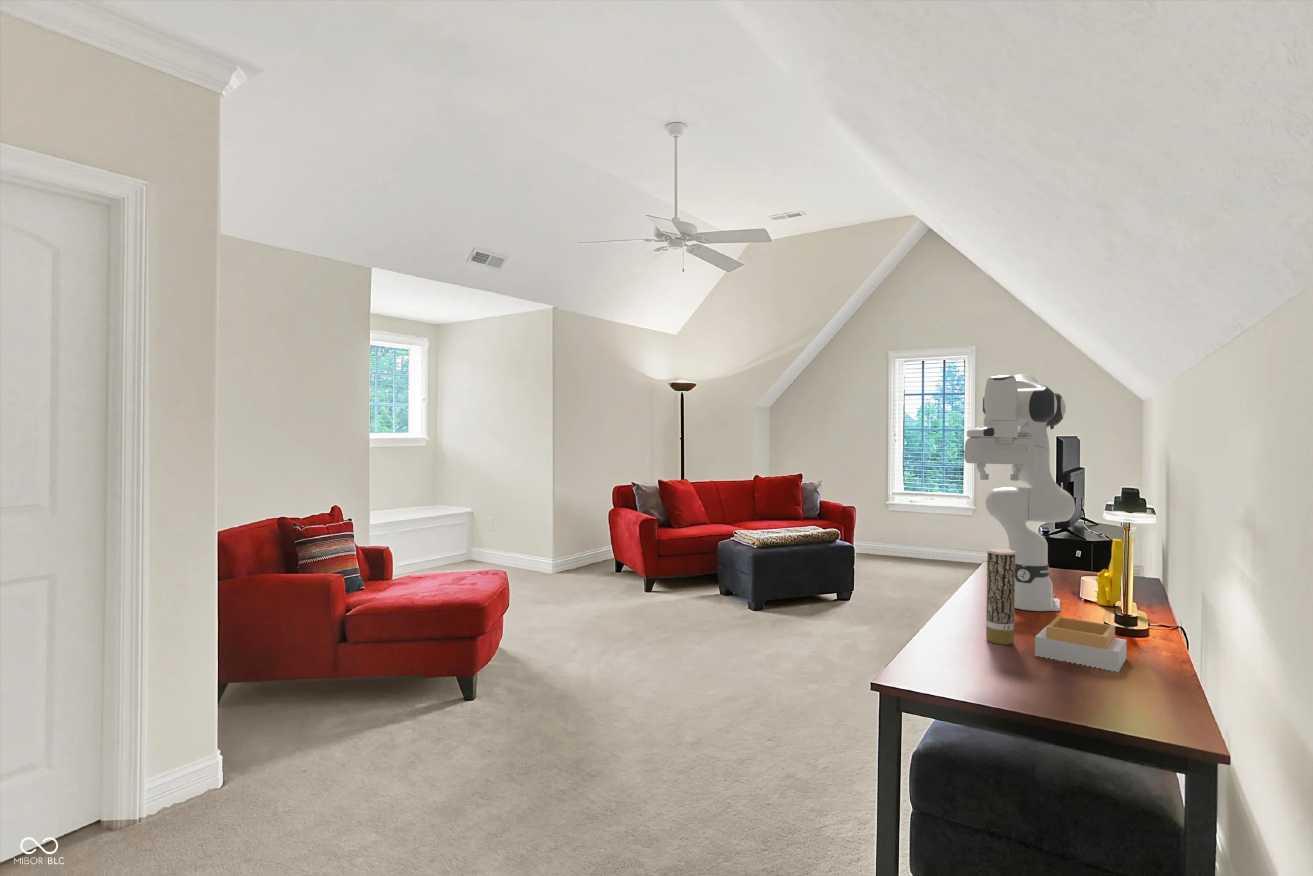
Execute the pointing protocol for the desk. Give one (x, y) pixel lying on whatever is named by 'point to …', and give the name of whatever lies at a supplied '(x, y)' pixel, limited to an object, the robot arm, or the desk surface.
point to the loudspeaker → (1081, 643)
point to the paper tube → (1000, 596)
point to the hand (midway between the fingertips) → (999, 480)
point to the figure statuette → (1111, 577)
